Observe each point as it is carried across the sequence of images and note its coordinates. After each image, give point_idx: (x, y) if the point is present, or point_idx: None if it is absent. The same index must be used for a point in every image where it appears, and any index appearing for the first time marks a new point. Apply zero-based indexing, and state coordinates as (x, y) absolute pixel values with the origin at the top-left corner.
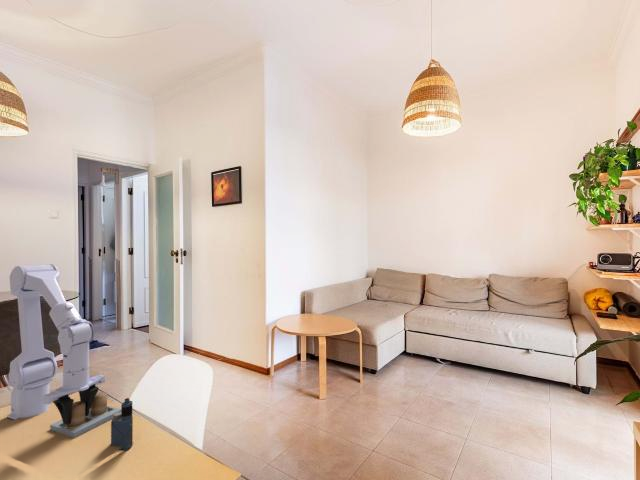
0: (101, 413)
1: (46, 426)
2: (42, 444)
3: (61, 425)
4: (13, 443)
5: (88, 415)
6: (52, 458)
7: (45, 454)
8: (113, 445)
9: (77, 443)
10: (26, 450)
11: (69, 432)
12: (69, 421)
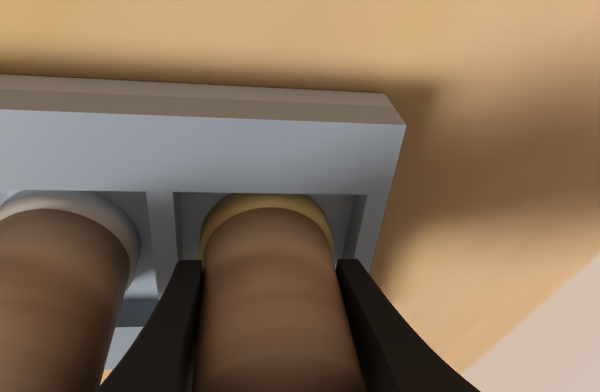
0: (62, 217)
1: None
2: (443, 246)
3: None
4: (451, 358)
5: None
6: (597, 29)
7: (545, 127)
8: None
9: (398, 42)
10: (504, 261)
11: (390, 178)
12: (359, 270)
